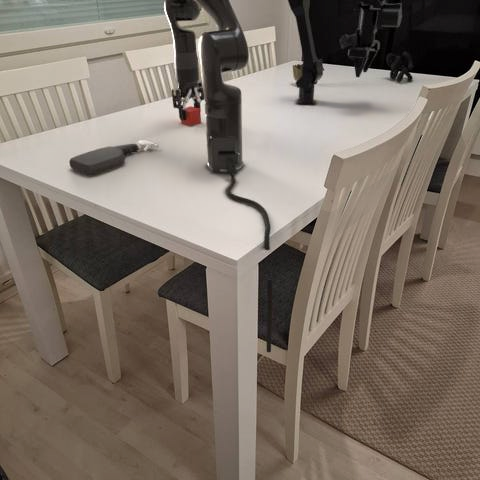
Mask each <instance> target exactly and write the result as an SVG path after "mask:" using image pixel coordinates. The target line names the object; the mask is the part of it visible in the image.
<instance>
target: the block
mask: <svg viewBox="0 0 480 480" xmlns="http://www.w3.org/2000/svg"><path fill="white" fill-rule="evenodd" d="M185 109H186V120H185V121H183V120H180V123H181V124H182V125H186V126H189V127H192V126H196V125H198V124H201V123H202V115H201V112H200V109H199V108H195V107H194V106H187V107H185Z"/></svg>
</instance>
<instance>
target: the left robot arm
mask: <svg viewBox="0 0 480 480" xmlns="http://www.w3.org/2000/svg"><path fill="white" fill-rule="evenodd" d="M163 8H164V13H165V16H166V19H167V21H168V24H169V27H170V30H171V35H172V41H173V43H172V44H173V52H174V53H173V60H174V62H173V64H174V74H175V81H176V82H177V84H178V87H177V88H172V89H171V97H172V105H173V106H172V107H173V108H174V109H178V117H179V120H180V121H181V120H183V121H185V120H186V109H185V108H186V106H187V104H188V103H189V100H190V99H191V100H192V101H193V107H195V108H199V109H200V113H201V112H202V108H201V103H202V101H204V116H205V117H204V118H205V133H206V134H205V135H206V151H207V152H206V153H207V168H208V169H209V170H211V172H212V173H228V174H229V176H230V184H229V186H227V187H226V189H225V193H226V195H227V196H228V197H230V198H231V199H232V200H235V201H238V202H242V203H245V204H249V205H251V206H254V207H255V208H256V209H258V210H259V211H260V212H261V214H262V216H263V219H264V224H265V230H264V238H263V245H264V246H263V247H264V250H265V251H270V249H271V247H270V234H271V222H270V219H269V214H268V212H267V211H266V209H265V208H264V207H263V206H262V205H261V204H260V203H258V202H257V201H255V200H253V199H250V198H247V197H243V196H239V195H236V194H234V193H232V191H231V190H232V189H233V188H234V186H235V185H236V177H235V174H234V173H237V171H239V170H240V169H242V168H243V166H244V160H243V114H242V113H243V109H242V108H243V106H242V105H243V104H242V103H243V102H242V101H243V100H242V99H243V98H242V96H243V95H242V90H241V89H240V87H238V86H236V85H232V84H227V83H225V82H224V81H223V76H222V74H224V73H230V72H231V73H232V72H237V71H242V70H244V69H245V68H247V65H248V63H249V59H250V54H249V53H250V52H249V46H248V42H247V39H246V35H245V32H244V30H243V28H242V26H241V24H240V22H239V20H238V17H237V15H236V12H235V10H234V8H233V6H232V4H231V0H164V2H163ZM201 9H203V11H205V12H206V13H207V14H208V15H209V16H210V17H211V18H210V19H212V21H213V22H214V24H215V26H216V28H217V30H209V31H208V30H207V31H205V32H203V33H202V34H200V37H199V39H198V40H199V41H198V51H197V37H196V33H195V31H194V30H192V29H187V28H184V27H182V26H181V25H180V24H179V22H195V21H196V20H198V19H199V17H200V15H201ZM199 69H200V71H199ZM199 72H200V73H199ZM200 79H201V81H200ZM266 290H267V291H266V293H267V295H266V296H267V299H266V302H267V308H266V309H267V310H266V352H267V353H271V352H272V329H273V327H272V326H273V324H272V323H273V280H272V279H266Z"/></svg>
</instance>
